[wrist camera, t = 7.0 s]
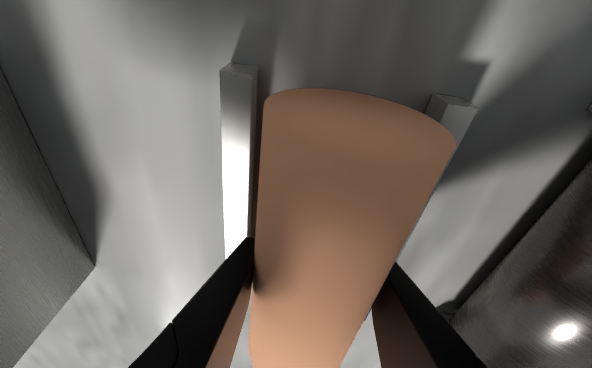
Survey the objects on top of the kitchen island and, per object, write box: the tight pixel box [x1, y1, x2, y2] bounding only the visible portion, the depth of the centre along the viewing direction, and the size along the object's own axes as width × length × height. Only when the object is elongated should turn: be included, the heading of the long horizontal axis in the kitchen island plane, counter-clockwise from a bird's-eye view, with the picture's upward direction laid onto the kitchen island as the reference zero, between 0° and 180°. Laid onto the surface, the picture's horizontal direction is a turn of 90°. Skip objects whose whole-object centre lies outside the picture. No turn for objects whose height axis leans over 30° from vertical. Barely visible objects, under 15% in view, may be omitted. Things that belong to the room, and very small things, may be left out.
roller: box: [249, 88, 456, 368], centre depth 8 cm, size 10×4×4 cm, turn 172°
